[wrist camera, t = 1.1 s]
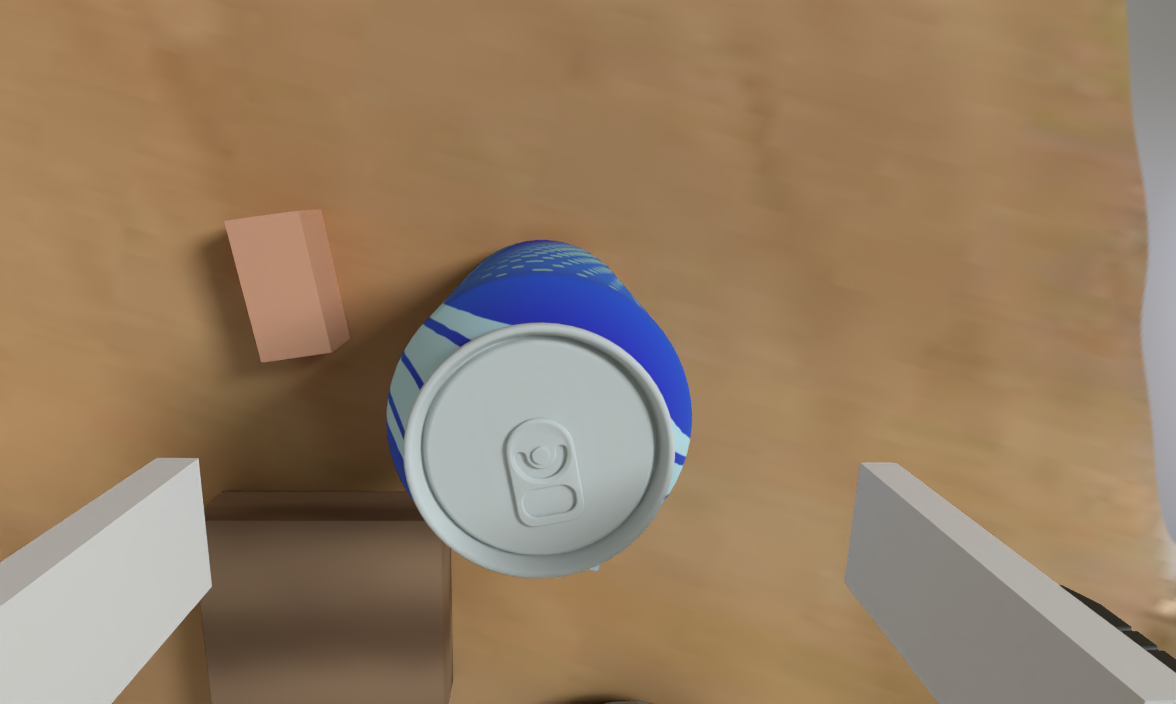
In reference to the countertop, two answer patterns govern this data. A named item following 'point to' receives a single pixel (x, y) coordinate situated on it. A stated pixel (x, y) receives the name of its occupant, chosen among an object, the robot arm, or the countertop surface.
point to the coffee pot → (627, 702)
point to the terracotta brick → (288, 284)
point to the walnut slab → (326, 600)
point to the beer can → (539, 414)
